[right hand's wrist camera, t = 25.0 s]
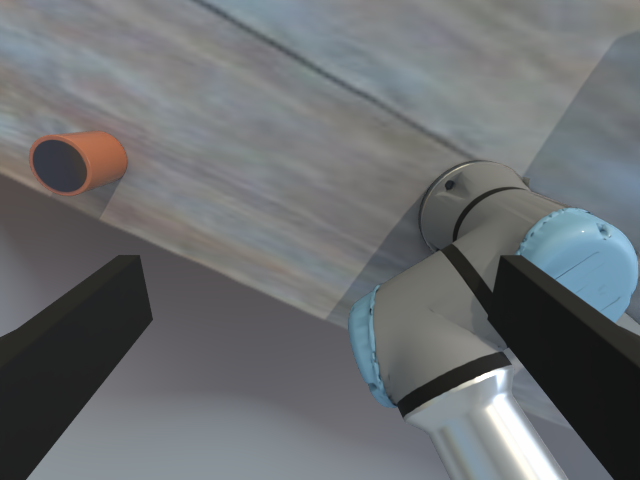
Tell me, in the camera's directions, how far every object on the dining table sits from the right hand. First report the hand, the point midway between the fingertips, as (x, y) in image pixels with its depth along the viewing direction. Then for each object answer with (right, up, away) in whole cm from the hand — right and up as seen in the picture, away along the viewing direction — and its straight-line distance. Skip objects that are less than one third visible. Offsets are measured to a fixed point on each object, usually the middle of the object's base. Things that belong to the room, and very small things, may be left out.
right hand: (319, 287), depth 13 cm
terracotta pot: (-30, +13, +34) cm, 47 cm away
